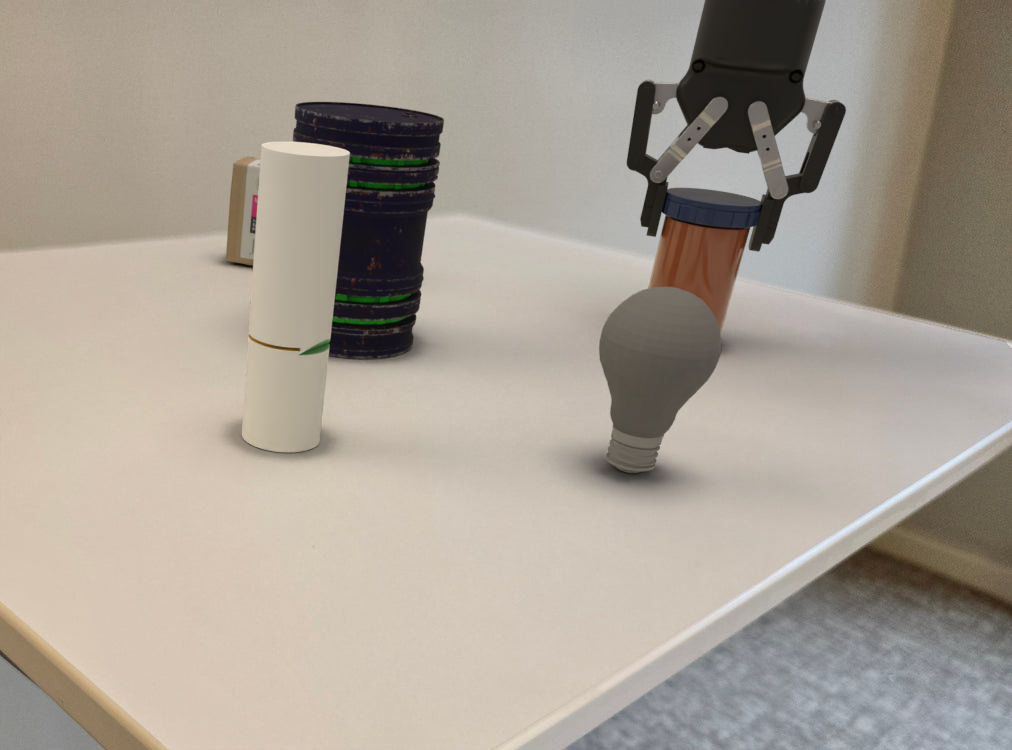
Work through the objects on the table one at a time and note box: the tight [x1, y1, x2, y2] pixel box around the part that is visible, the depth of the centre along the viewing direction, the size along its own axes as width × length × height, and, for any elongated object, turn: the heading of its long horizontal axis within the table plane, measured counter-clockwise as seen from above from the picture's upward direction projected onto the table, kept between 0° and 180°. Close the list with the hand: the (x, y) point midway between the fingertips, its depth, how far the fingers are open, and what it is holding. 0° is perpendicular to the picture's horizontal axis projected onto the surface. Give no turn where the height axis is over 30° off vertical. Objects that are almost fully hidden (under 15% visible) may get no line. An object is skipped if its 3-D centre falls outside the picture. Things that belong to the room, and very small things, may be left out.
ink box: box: [225, 156, 261, 266], centre depth 91 cm, size 10×4×8 cm, turn 73°
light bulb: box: [598, 287, 723, 474], centre depth 57 cm, size 6×6×10 cm
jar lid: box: [661, 187, 762, 228], centre depth 78 cm, size 7×7×2 cm
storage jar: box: [292, 101, 445, 360], centre depth 73 cm, size 10×10×15 cm
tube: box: [241, 141, 350, 453], centre depth 55 cm, size 4×4×15 cm
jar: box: [647, 214, 751, 334], centre depth 81 cm, size 6×6×10 cm
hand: (701, 241), depth 79 cm, fingers closed on jar lid, 6 cm apart
